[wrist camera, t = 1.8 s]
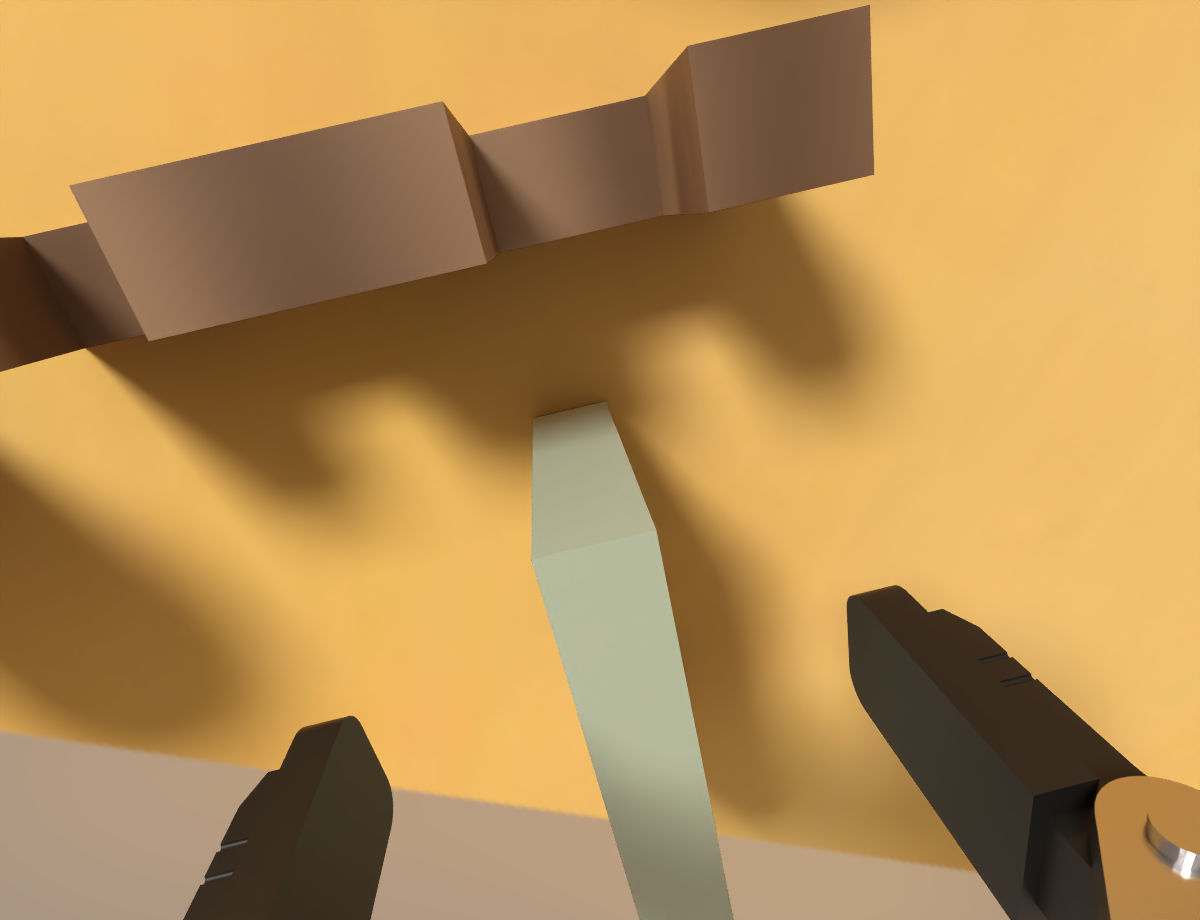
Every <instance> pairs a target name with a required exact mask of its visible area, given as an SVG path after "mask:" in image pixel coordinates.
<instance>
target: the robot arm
mask: <svg viewBox="0 0 1200 920" xmlns="http://www.w3.org/2000/svg"><path fill="white" fill-rule="evenodd" d="M847 623H848V645H849V666H850V674H851V678H852V682H853V685H854V688H855V691H856V693H857V696H858V698H859V700H860V702H861V704H862V706H863V707H864V709H865V710H866V712H867V713H868V715H869V716H870V718H871V719H872V721H873V722H874V723H875V725H876V726H877V728H878V729H879V731H880V732H881V734H882V735H883V736H884V738H885V739H886V741H887V742H888V744H889V745H890V746H891V748H892V749H893V751H894V752H895V754H896V755H897V757H898V758H899V759H900V761H901V762H902V764H903V765H904V767H905V768H906V770H907V771H908V772H909V774H910V775H911V777H912V778H913V780H914V781H915V783H916V784H917V785H918V787H919V788H920V790H921V791H922V793H923V794H924V796H925V797H926V798H927V800H928V801H929V803H930V804H931V806H932V807H933V809H934V810H935V811H936V813H937V814H938V816H939V817H940V819H941V820H942V821H943V823H944V824H945V826H946V827H947V829H948V830H949V832H950V833H951V834H952V836H953V837H954V839H955V840H956V842H957V843H958V845H959V846H960V847H961V849H962V850H963V852H964V853H965V855H966V856H967V858H968V859H969V860H970V862H971V863H972V865H973V866H974V868H975V869H976V871H977V872H978V873H979V875H980V876H981V878H982V879H983V880H984V882H985V883H986V885H987V886H988V888H989V889H990V891H991V892H992V893H993V895H994V896H995V898H996V899H997V901H998V902H999V904H1000V905H1001V907H1002V908H1003V909H1004V911H1005V912H1006V914H1007V915H1008V917H1009V918H1010V920H1200V790H1197V789H1194V788H1192V787H1189V786H1187V785H1184V784H1181V783H1177V782H1174V781H1171V780H1167V779H1161V778H1156V777H1147V776H1146V775H1145V774H1144V773H1142V772H1141V771H1140V770H1139V769H1137V768H1136V767H1135V766H1134V765H1133V764H1131V763H1130V762H1129V761H1128V760H1127V759H1126V758H1125V757H1124V756H1123V755H1121V754H1120V753H1119V752H1118V751H1117V750H1116V749H1115V748H1114V747H1112V746H1111V745H1110V744H1109V743H1108V742H1107V741H1106V740H1105V739H1104V738H1102V737H1101V736H1100V735H1099V734H1098V733H1097V732H1096V731H1095V730H1093V729H1092V728H1091V727H1090V726H1089V725H1088V724H1087V723H1086V722H1085V721H1083V720H1082V719H1081V718H1080V717H1079V716H1078V715H1077V714H1076V713H1074V712H1073V711H1072V710H1071V709H1070V708H1069V707H1068V706H1067V705H1066V704H1064V703H1063V702H1062V701H1061V700H1060V699H1059V698H1058V697H1057V696H1055V695H1054V694H1053V693H1052V692H1051V691H1050V690H1049V689H1048V688H1047V687H1045V686H1044V685H1043V684H1042V683H1041V682H1040V681H1039V680H1038V679H1036V680H1034V679H1033V678H1032V676H1031V673H1030V672H1029V671H1028V670H1026V669H1025V668H1024V667H1023V666H1022V665H1021V664H1020V663H1019V662H1017V661H1016V660H1015V659H1014V658H1013V657H1011V658H1010V657H1009V656H1008V655H1007V652H1006V651H1005V650H1004V649H1003V648H1002V647H1001V646H1000V645H998V644H997V643H996V642H995V641H994V640H993V639H992V638H991V637H990V636H988V635H987V634H986V633H985V632H984V631H983V630H982V629H981V628H979V627H978V626H976V625H974V624H972V623H970V622H968V621H966V620H964V619H962V618H960V617H958V616H956V615H954V614H952V613H950V612H948V611H946V610H944V609H940V610H936V611H932V612H927V611H926V610H925V609H924V608H923V607H922V606H921V605H920V604H919V603H918V602H917V601H916V600H915V599H914V598H913V597H912V596H911V595H910V594H909V593H908V592H907V591H906V590H905V589H903V588H902V587H900V586H897V585H893V586H889V587H885V588H881V589H877V590H873V591H869V592H865V593H860V594H856V595H852V596H850V597H849V598H848V601H847ZM392 817H393V798H392V792H391V787H390V784H389V781H388V779H387V777H386V774H385V772H384V770H383V768H382V766H381V764H380V762H379V760H378V758H377V756H376V754H375V752H374V750H373V748H372V746H371V744H370V742H369V740H368V738H367V736H366V734H365V732H364V730H363V727H362V725H361V724H360V722H359V721H358V719H357V718H355V717H354V716H347V717H343V718H339V719H335V720H331V721H327V722H323V723H319V724H314V725H310V726H306V727H303V728H301V729H300V730H299V731H298V732H297V734H296V735H295V737H294V739H293V741H292V743H291V746H290V748H289V750H288V752H287V754H286V757H285V759H284V761H283V763H282V765H281V768H280V769H279V770H275V771H271V772H268V773H267V774H266V775H265V777H264V778H263V779H262V780H261V781H260V783H259V784H258V785H257V786H256V788H255V789H254V790H253V791H252V792H251V793H250V794H249V796H248V797H247V798H246V800H244V802H243V803H242V804H241V805H240V807H239V808H238V810H237V812H236V814H235V816H234V818H233V820H232V822H231V825H230V826H229V828H228V830H227V832H226V834H225V836H224V838H223V840H222V842H221V851H220V852H216V854H215V857H214V859H213V861H212V863H211V865H210V867H209V869H208V871H207V873H206V875H205V883H204V884H203V885H200V887H199V889H198V891H197V893H196V895H195V897H194V899H193V901H192V903H191V905H190V907H189V909H188V911H187V913H186V915H185V917H184V919H183V920H370V919H371V915H372V910H373V905H374V901H375V897H376V892H377V888H378V883H379V879H380V875H381V870H382V866H383V861H384V857H385V853H386V848H387V844H388V839H389V835H390V831H391V826H392V819H393V818H392Z"/></svg>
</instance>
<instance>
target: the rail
mask: <svg viewBox="0 0 1200 920" xmlns="http://www.w3.org/2000/svg"><path fill="white" fill-rule="evenodd" d="M870 175H874V154H873V114H872V75H871V35H870V5H867V6H863V7H859V8H854V9H850V10H845V11H841V12H836V13H832V14H828V15H823V16H819V17H814V18H810V19H805V20H801V21H797V22H792V23H788V24H783V25H779V26H774V27H770V28H766V29H761V30H757V31H752V32H748V33H743V34H739V35H735V36H730V37H726V38H721V39H717V40H712V41H708V42H704V43H699V44H695V45H690V46H687V47H686V49H685V50H684V51H683V52H682V53H681V54H680V56H679V57H678V58H677V59H676V60H675V61H674V63H673V64H672V65H671V66H670V67H669V68H668V70H667V71H666V72H665V73H664V74H663V75H662V77H661V78H660V79H659V80H658V81H657V82H656V84H655V85H654V86H653V87H652V88H651V89H650V91H649V92H648V93H647V94H646V95H645V96H643V97H638V98H634V99H630V100H625V101H621V102H616V103H612V104H608V105H603V106H599V107H594V108H590V109H585V110H581V111H577V112H572V113H568V114H563V115H559V116H555V117H550V118H546V119H541V120H537V121H533V122H528V123H524V124H519V125H515V126H510V127H506V128H502V129H497V130H493V131H488V132H484V133H480V134H475V135H471V136H469V135H468V134H467V133H466V131H465V130H464V129H463V128H462V126H461V125H460V124H459V122H458V121H457V120H456V118H455V117H454V116H453V114H452V113H451V112H450V111H449V109H448V108H447V107H446V105H445V104H444V103H443V101H442V102H438V103H433V104H429V105H424V106H420V107H415V108H411V109H407V110H402V111H398V112H393V113H389V114H384V115H380V116H376V117H371V118H367V119H362V120H358V121H353V122H349V123H345V124H340V125H336V126H331V127H327V128H322V129H318V130H314V131H309V132H305V133H300V134H296V135H291V136H287V137H283V138H278V139H274V140H269V141H265V142H260V143H256V144H252V145H247V146H243V147H238V148H234V149H229V150H225V151H220V152H216V153H212V154H207V155H203V156H198V157H194V158H189V159H185V160H181V161H176V162H172V163H167V164H163V165H158V166H154V167H150V168H145V169H141V170H136V171H132V172H127V173H123V174H119V175H114V176H110V177H105V178H101V179H96V180H92V181H88V182H83V183H79V184H74V185H70V186H69V187H70V189H71V190H72V192H73V194H74V196H75V198H76V200H77V202H78V204H79V206H80V208H81V210H82V212H83V214H84V216H85V218H86V220H87V223H83V224H78V225H74V226H69V227H65V228H60V229H56V230H52V231H47V232H43V233H38V234H34V235H30V236H25V237H8V238H0V372H1V371H4V370H8V369H12V368H15V367H19V366H22V365H26V364H30V363H33V362H37V361H41V360H44V359H48V358H51V357H55V356H59V355H62V354H66V353H69V352H73V351H77V350H80V349H84V348H88V347H92V346H97V345H101V344H105V343H110V342H114V341H118V340H123V339H127V338H132V337H136V336H140V335H146V337H147V339H148V341H152V340H157V339H161V338H165V337H170V336H174V335H178V334H183V333H187V332H191V331H196V330H200V329H205V328H209V327H213V326H218V325H222V324H226V323H231V322H235V321H239V320H244V319H248V318H252V317H257V316H261V315H265V314H270V313H274V312H278V311H283V310H287V309H292V308H296V307H300V306H305V305H309V304H313V303H318V302H322V301H326V300H331V299H335V298H339V297H344V296H348V295H352V294H357V293H361V292H365V291H370V290H374V289H379V288H383V287H387V286H392V285H396V284H400V283H405V282H409V281H413V280H418V279H422V278H426V277H431V276H435V275H439V274H444V273H448V272H452V271H457V270H461V269H466V268H470V267H474V266H479V265H483V264H487V263H488V262H489V261H490V260H492V259H493V258H494V257H495V256H497V255H498V254H499V253H502V252H506V251H510V250H515V249H519V248H523V247H528V246H532V245H536V244H541V243H545V242H549V241H554V240H558V239H563V238H567V237H571V236H576V235H580V234H584V233H589V232H593V231H597V230H602V229H606V228H610V227H615V226H619V225H623V224H628V223H632V222H637V221H641V220H645V219H650V218H654V217H658V216H663V215H677V214H693V213H709V212H713V211H718V210H722V209H727V208H731V207H735V206H740V205H744V204H748V203H753V202H757V201H761V200H766V199H770V198H774V197H779V196H783V195H787V194H792V193H796V192H800V191H805V190H809V189H814V188H818V187H822V186H827V185H831V184H835V183H840V182H844V181H848V180H853V179H857V178H861V177H866V176H870Z"/></svg>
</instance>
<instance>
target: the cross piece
mask: <svg viewBox="0 0 1200 920" xmlns="http://www.w3.org/2000/svg"><path fill="white" fill-rule="evenodd" d="M531 561H532V564H533V567H534V571H535V574H536V577H537V580H538V584H539V587H540V590H541V594H542V597H543V600H544V604H545V607H546V610H547V614H548V617H549V620H550V624H551V627H552V630H553V634H554V637H555V640H556V644H557V647H558V650H559V654H560V657H561V660H562V664H563V667H564V670H565V674H566V677H567V680H568V684H569V687H570V690H571V694H572V697H573V700H574V704H575V707H576V710H577V714H578V717H579V720H580V723H581V727H582V730H583V733H584V737H585V740H586V743H587V747H588V750H589V753H590V757H591V760H592V763H593V767H594V770H595V773H596V777H597V780H598V783H599V787H600V790H601V793H602V797H603V800H604V803H605V807H606V810H607V813H608V817H609V820H610V823H611V827H612V830H613V833H614V837H615V840H616V843H617V847H618V850H619V853H620V857H621V860H622V863H623V866H624V870H625V873H626V876H627V880H628V883H629V886H630V890H631V893H632V896H633V899H634V903H635V906H636V909H637V913H638V916H639V919H640V920H734V919H733V914H732V909H731V904H730V899H729V894H728V889H727V884H726V879H725V874H724V869H723V864H722V859H721V854H720V849H719V844H718V839H717V834H716V829H715V823H714V818H713V813H712V808H711V803H710V798H709V793H708V788H707V783H706V778H705V773H704V768H703V763H702V758H701V753H700V748H699V743H698V738H697V733H696V728H695V723H694V718H693V713H692V708H691V703H690V697H689V692H688V687H687V682H686V677H685V672H684V667H683V662H682V657H681V652H680V647H679V642H678V637H677V632H676V627H675V622H674V617H673V612H672V607H671V602H670V597H669V592H668V587H667V582H666V577H665V572H664V566H663V561H662V556H661V551H660V546H659V541H658V536H657V531H656V528H655V526H654V523H653V520H652V518H651V515H650V513H649V510H648V508H647V505H646V503H645V500H644V498H643V495H642V493H641V490H640V487H639V485H638V482H637V480H636V477H635V475H634V472H633V470H632V467H631V465H630V462H629V459H628V457H627V454H626V452H625V449H624V447H623V444H622V442H621V439H620V437H619V434H618V431H617V429H616V426H615V424H614V421H613V419H612V416H611V414H610V411H609V409H608V406H607V404H606V401H605V402H600V403H596V404H592V405H588V406H583V407H579V408H575V409H571V410H566V411H562V412H558V413H553V414H549V415H545V416H541V417H536V418H533V463H532V541H531Z"/></svg>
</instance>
